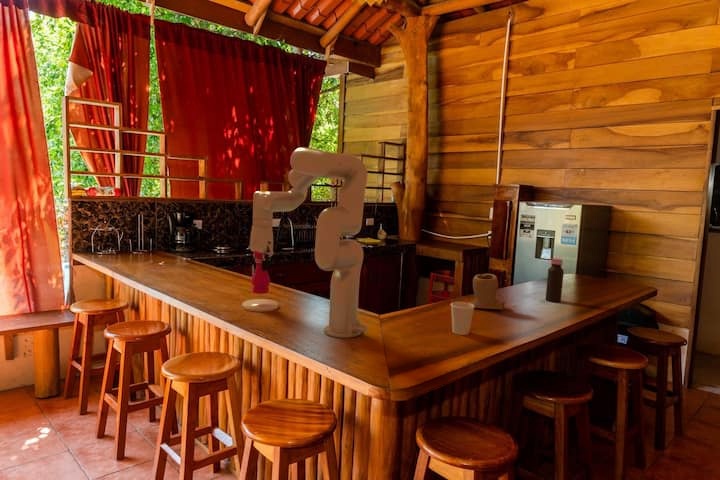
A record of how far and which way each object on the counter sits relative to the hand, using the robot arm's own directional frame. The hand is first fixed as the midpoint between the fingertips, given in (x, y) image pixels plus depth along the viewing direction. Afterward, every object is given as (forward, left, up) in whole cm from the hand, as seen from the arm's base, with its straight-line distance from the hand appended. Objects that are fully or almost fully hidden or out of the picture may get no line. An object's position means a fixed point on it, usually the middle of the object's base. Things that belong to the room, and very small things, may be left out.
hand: (261, 268), depth 187 cm
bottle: (-97, -96, -16) cm, 137 cm away
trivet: (0, 0, -15) cm, 15 cm away
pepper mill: (0, 0, -10) cm, 10 cm away
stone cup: (-75, -59, -16) cm, 97 cm away
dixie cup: (-76, -18, -16) cm, 80 cm away
